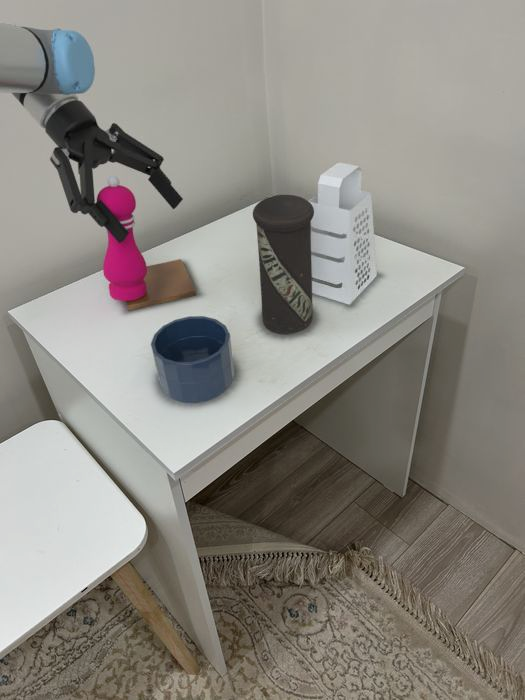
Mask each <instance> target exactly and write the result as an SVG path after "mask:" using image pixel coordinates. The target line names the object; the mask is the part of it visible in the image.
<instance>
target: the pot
mask: <svg viewBox="0 0 525 700" xmlns="http://www.w3.org/2000/svg"><path fill="white" fill-rule="evenodd" d="M150 347H151V352H152V355H153V360H154V363H155V368H156V372H157V376H158V380H159V383H160V387H161V390H162V391H163V393H164V394H165V395H166V396H167V397H169V398H170V399H172V400H174V401H177V402H180V403H186V404H198V403H203V402H207V401H211V400H214V399H215V398H217V397H219V396H221V395H222V394H224V393H225V392H226V391H227V390H228V389H229V388H230V386H232V383H233V381H234V377H235V365H234V358H233V357H234V356H233V350H232V340H231V334H230V332H229V329H228V327H227V326H226V324H225V323H223V322H221V321H219V320H218V319H216V318H214V317H210V316H209V317H208V316H206V315H205V316H204V315H195V316H194V315H193V316H191V315H189V316H186V317H181V318H177V319H173V320H172V321H170V322H168V323H166V324H164V325H162V326H161V327H160V328H159V329H158V330H157V331H156V332H155V333H154V334H153V337H152V339H151V342H150Z"/></svg>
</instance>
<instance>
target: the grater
mask: <svg viewBox="0 0 525 700" xmlns="http://www.w3.org/2000/svg"><path fill="white" fill-rule="evenodd" d="M362 174H363V171H362V168H361V166H360V165H356V164H355V165H353V164H349V163H344V162H337V163H335V164H333V166H331V167H329V168H328V169H327V170H325V171H324V172H323V173H321V174H320V176H319V179H318V182H317V194H316V195H314V196H313V197H311V198H310V199H309V200H307V201H308V202H310V203H311V204H312V206H313V209H314V216H313V218H312V220H311V265H312V279H317V280H321V281H323V282H326V283H329V284H330V283H331V284H333V285H340V284H341V287H333V286H330V285H327V284H324V283H320V282H317V281H314V280H312V295H313V294H314V295H316V296H320V297H323V298H326V299H329V300H333V301H336V302H339V303H342V304H346V305H351V304H352V303H353V302H354V301H355V300H356V298H358V296H360V295H361V293H362V292H364V290H366V288H367V287H368V286H369V285H370V284H371V283H372V281H373V280H374V279H375V278H376V277H377V276H378V273H377V257H376V256H377V255H376V243H375V231H374V229H375V228H374V214H373V213H374V212H373V202H372V201H373V200H372V192H369V191H364V190H361V189H362ZM358 274H359V276H358Z"/></svg>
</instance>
